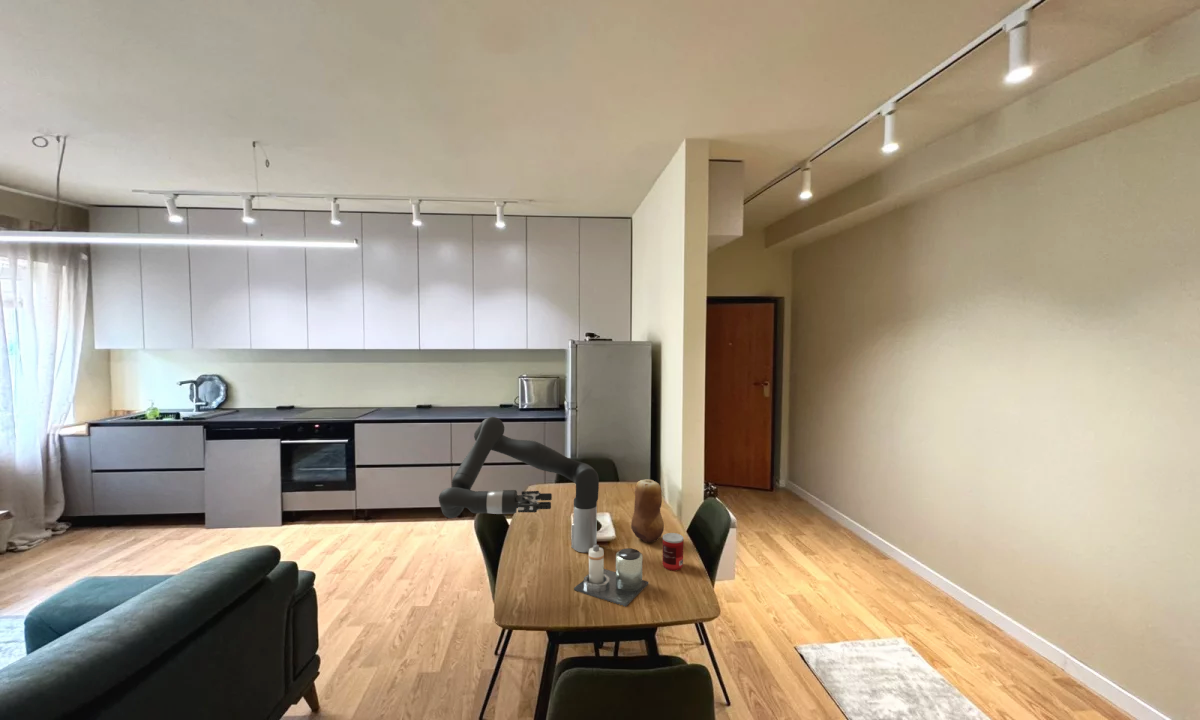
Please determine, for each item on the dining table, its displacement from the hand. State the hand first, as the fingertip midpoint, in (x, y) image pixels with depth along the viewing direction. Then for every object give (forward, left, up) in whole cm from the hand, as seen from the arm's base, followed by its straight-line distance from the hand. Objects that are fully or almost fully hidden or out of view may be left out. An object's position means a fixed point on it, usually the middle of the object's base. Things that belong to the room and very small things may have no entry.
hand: (551, 500), depth 164 cm
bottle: (+12, +9, -29) cm, 33 cm away
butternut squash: (+10, +53, -30) cm, 62 cm away
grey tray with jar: (+17, +12, -30) cm, 36 cm away
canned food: (+28, +37, -30) cm, 56 cm away
